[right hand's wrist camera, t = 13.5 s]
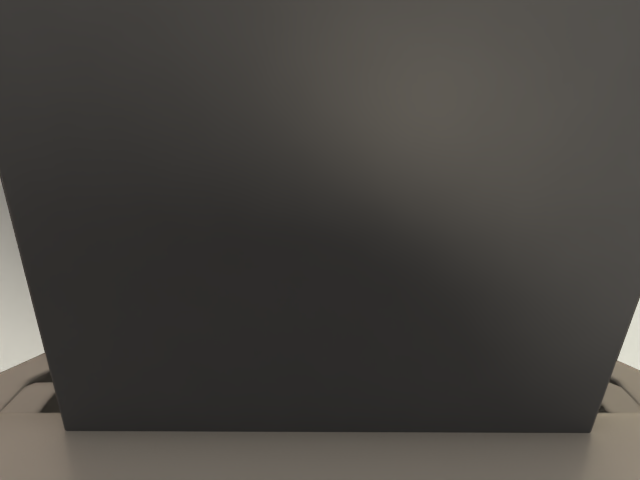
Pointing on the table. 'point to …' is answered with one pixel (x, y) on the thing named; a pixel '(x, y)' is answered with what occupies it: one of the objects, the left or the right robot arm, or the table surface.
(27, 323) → the table surface
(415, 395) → the box
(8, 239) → the table surface
